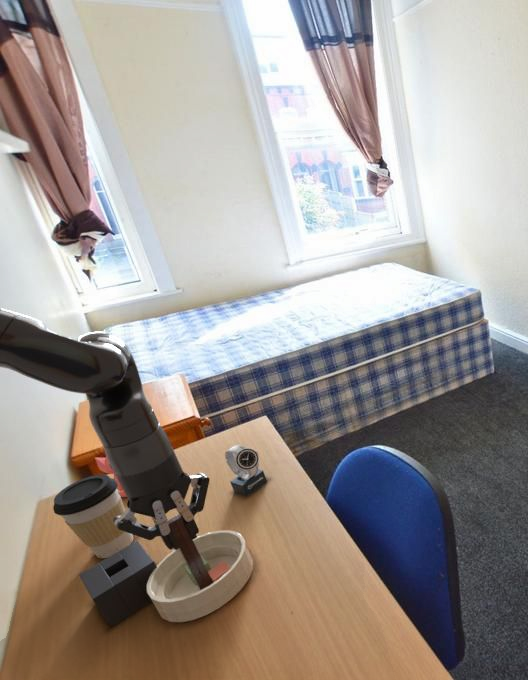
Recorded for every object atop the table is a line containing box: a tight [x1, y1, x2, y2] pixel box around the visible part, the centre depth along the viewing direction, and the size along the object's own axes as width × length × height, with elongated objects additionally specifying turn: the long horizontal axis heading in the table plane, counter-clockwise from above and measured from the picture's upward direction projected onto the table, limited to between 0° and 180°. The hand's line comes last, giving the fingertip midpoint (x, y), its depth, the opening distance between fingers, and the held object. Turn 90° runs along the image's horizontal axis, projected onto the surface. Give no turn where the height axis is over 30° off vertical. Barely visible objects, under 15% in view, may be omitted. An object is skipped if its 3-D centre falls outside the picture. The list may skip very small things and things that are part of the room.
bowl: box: [147, 529, 254, 623], centre depth 84 cm, size 15×15×6 cm
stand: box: [78, 540, 157, 628], centre depth 83 cm, size 9×9×7 cm
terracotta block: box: [208, 561, 230, 583], centre depth 84 cm, size 3×3×3 cm
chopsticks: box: [167, 514, 213, 590], centre depth 80 cm, size 2×1×16 cm, turn 143°
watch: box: [224, 444, 268, 497], centre depth 108 cm, size 6×8×11 cm
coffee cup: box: [52, 474, 134, 559], centre depth 94 cm, size 10×10×15 cm
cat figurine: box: [94, 456, 128, 498], centre depth 110 cm, size 7×7×12 cm
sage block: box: [184, 556, 211, 586], centre depth 86 cm, size 3×3×3 cm
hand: (184, 541), depth 79 cm, fingers closed on chopsticks
